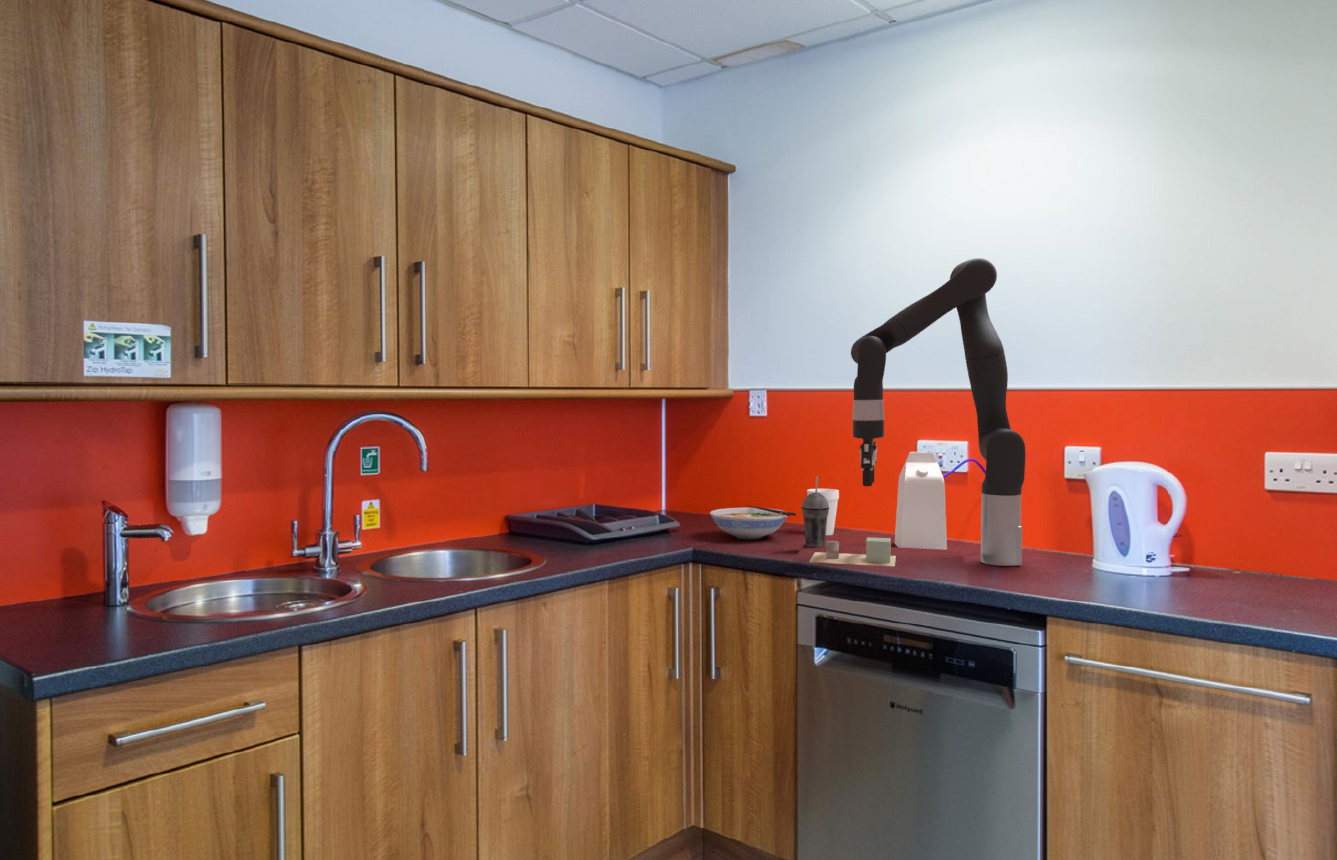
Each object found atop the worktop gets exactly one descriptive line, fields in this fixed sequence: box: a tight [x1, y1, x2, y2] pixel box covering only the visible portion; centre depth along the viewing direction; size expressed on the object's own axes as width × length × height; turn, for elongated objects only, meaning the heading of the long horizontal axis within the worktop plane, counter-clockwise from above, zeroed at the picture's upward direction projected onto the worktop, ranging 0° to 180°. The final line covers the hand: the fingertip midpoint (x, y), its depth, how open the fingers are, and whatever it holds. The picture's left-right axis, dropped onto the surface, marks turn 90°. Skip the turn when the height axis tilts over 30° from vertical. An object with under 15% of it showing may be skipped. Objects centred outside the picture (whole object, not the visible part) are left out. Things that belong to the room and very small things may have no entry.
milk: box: [894, 451, 948, 550], centre depth 247 cm, size 12×12×26 cm
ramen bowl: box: [709, 504, 797, 540], centre depth 264 cm, size 25×23×8 cm
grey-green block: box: [865, 536, 892, 563], centre depth 220 cm, size 6×6×5 cm
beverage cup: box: [801, 475, 829, 548], centre depth 241 cm, size 7×7×20 cm
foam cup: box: [806, 488, 840, 536], centre depth 271 cm, size 10×9×13 cm
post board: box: [808, 540, 897, 567], centre depth 222 cm, size 20×14×6 cm
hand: (868, 484), depth 223 cm, fingers open, 8 cm apart
